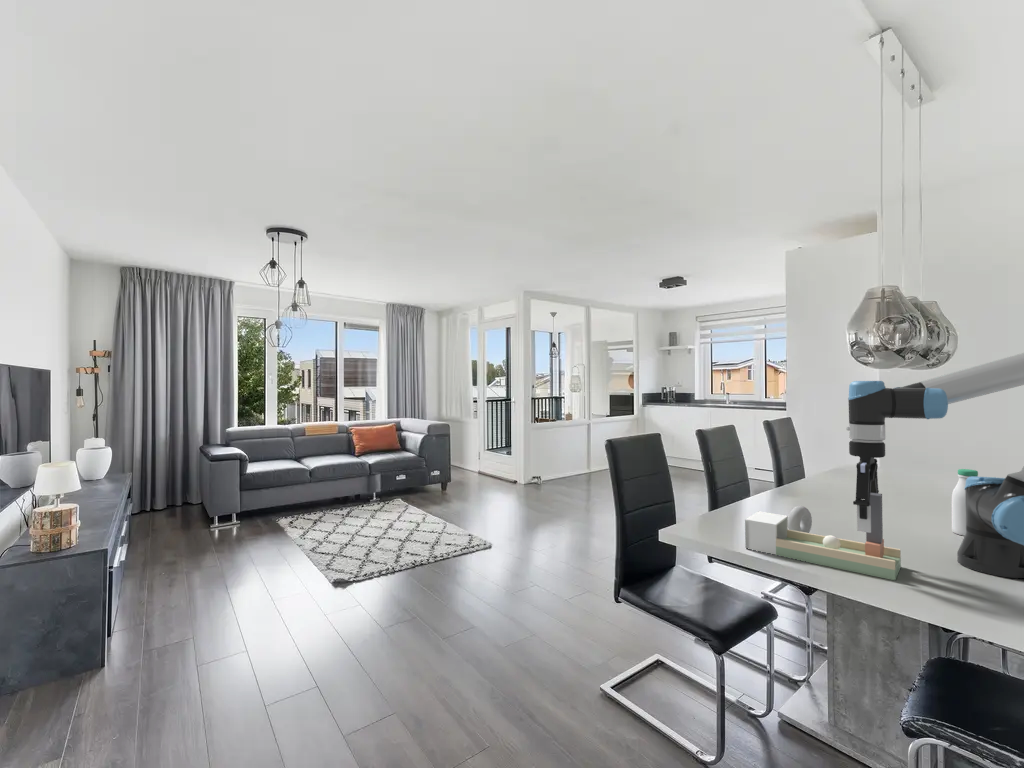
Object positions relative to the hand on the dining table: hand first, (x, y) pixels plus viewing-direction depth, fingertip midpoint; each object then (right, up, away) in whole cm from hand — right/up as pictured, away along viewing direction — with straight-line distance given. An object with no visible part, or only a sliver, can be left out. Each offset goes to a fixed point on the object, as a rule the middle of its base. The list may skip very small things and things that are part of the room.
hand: (867, 526), depth 126 cm
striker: (+1, -7, -1) cm, 8 cm away
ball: (-6, -6, +6) cm, 10 cm away
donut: (-3, -11, +24) cm, 26 cm away
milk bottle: (+50, -10, +26) cm, 58 cm away
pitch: (-8, -11, +8) cm, 15 cm away
